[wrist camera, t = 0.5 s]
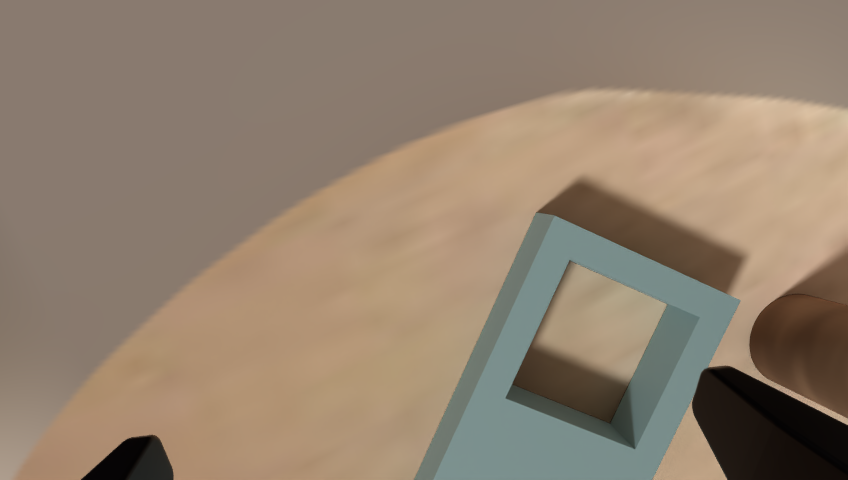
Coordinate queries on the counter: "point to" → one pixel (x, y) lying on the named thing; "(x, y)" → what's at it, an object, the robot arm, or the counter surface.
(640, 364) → the socket stand
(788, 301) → the pepper mill
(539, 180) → the counter surface
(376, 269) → the counter surface
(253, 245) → the counter surface
